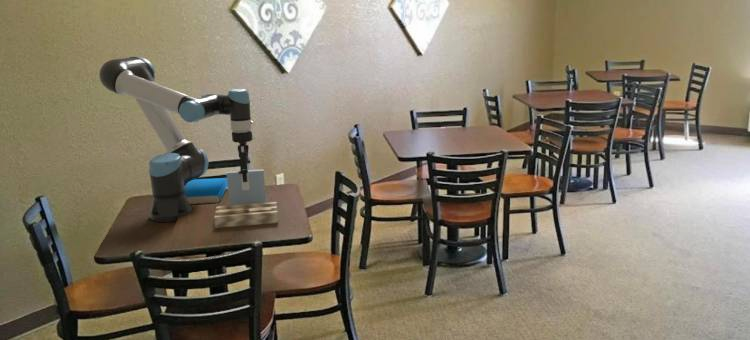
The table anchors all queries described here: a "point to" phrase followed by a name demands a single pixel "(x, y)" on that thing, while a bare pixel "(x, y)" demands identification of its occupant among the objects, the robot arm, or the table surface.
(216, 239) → the table surface
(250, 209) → the offcut right
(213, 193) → the book
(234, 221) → the rack
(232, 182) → the pale blue panel
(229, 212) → the offcut left
